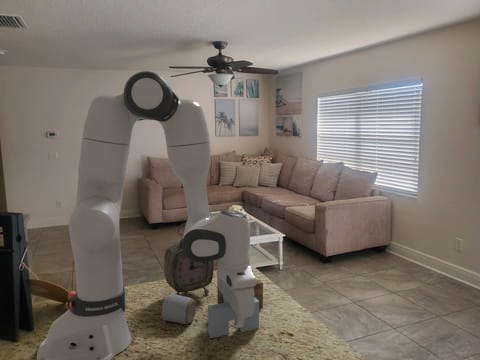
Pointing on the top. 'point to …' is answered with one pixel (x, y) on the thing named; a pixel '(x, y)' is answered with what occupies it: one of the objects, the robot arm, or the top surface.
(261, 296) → the walnut board
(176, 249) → the tabletop clock
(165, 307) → the ceramic mug
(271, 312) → the top surface
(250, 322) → the slate board
